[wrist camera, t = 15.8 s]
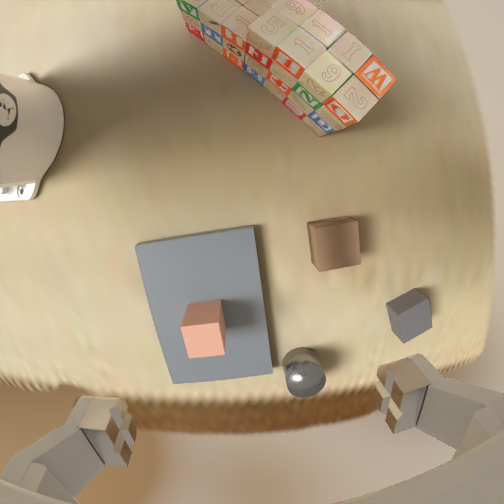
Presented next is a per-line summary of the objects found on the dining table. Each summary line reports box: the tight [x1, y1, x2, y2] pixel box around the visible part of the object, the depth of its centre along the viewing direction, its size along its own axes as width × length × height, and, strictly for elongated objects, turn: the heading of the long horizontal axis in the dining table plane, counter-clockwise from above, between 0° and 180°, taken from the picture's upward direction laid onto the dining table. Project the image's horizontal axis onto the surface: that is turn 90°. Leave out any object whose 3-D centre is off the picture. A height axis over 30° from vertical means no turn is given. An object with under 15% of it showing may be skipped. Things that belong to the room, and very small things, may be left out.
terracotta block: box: [181, 299, 226, 358], centre depth 34 cm, size 4×4×6 cm
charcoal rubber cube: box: [386, 288, 432, 343], centre depth 38 cm, size 5×5×4 cm
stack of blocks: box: [176, 0, 397, 137], centre depth 25 cm, size 21×6×12 cm, turn 48°
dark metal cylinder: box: [282, 347, 326, 397], centre depth 39 cm, size 5×5×5 cm
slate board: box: [135, 225, 273, 384], centre depth 38 cm, size 14×20×2 cm
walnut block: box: [307, 216, 361, 272], centre depth 35 cm, size 5×5×4 cm
